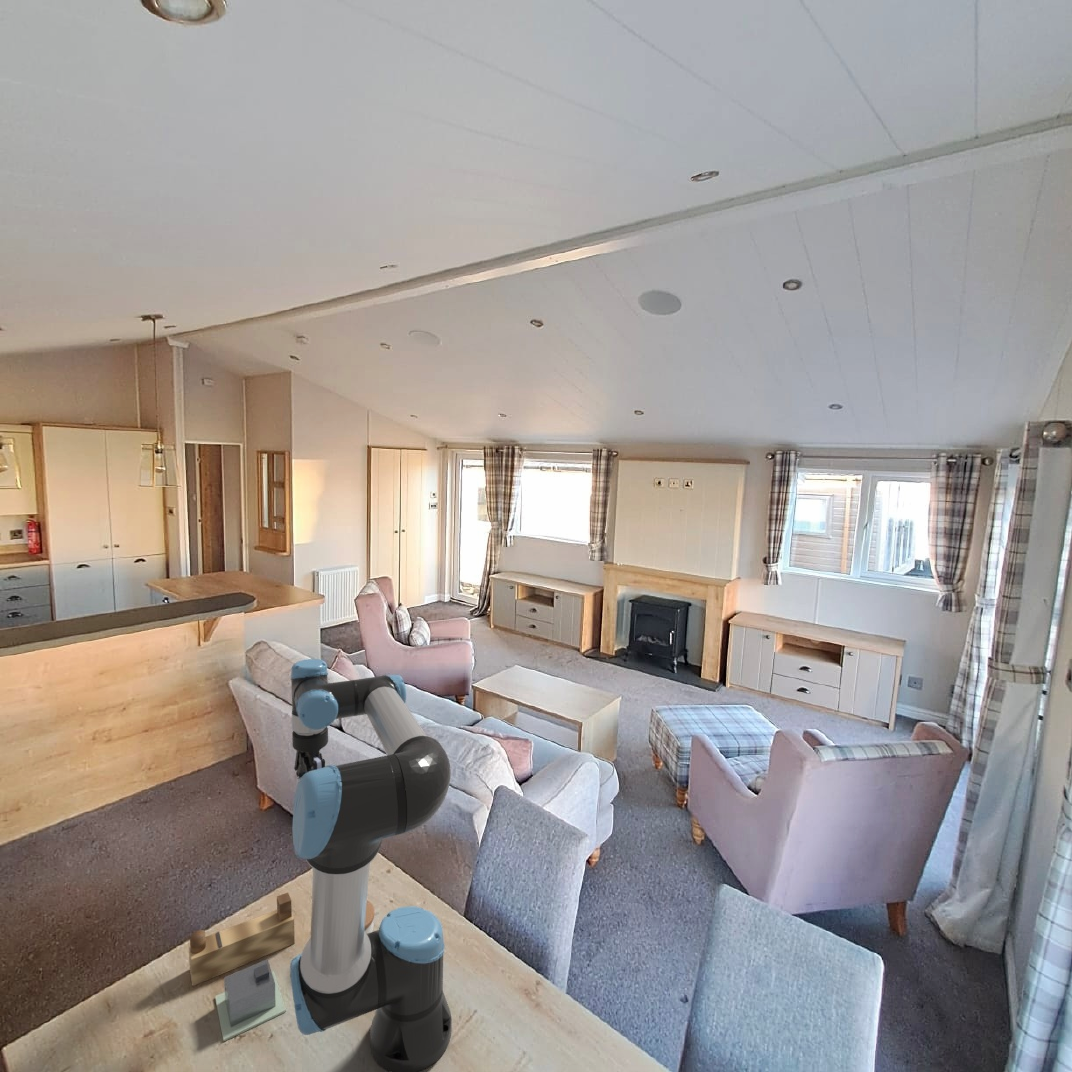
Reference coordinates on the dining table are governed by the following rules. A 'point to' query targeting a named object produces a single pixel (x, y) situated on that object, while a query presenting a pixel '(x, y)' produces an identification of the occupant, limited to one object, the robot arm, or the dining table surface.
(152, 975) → the dining table surface
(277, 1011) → the felt pad
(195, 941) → the plane body
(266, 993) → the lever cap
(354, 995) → the robot arm
